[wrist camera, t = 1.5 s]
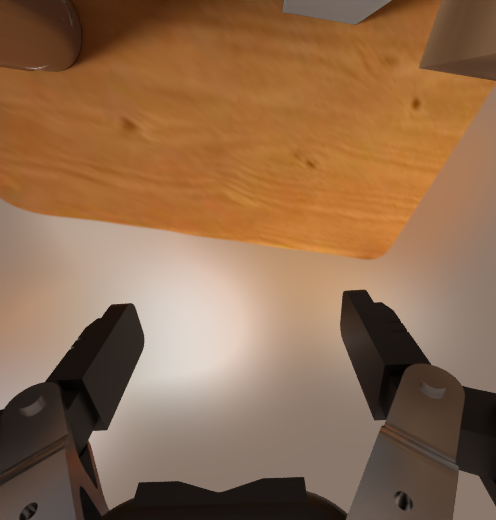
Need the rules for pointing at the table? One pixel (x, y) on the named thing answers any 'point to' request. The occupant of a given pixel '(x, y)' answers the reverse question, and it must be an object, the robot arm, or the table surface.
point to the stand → (334, 9)
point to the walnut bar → (463, 39)
